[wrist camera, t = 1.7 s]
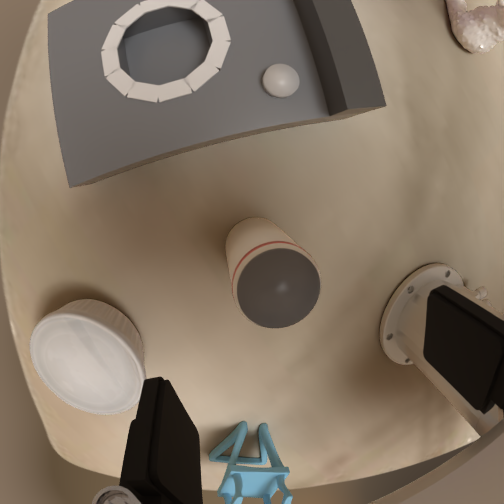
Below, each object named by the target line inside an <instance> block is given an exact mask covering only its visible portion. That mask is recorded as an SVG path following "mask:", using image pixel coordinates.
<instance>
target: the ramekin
mask: <svg viewBox="0 0 504 504" xmlns="http://www.w3.org/2000/svg"><path fill="white" fill-rule="evenodd" d="M30 354H31V359H32V362H33V365H34V367H35V369H36V371H37V373H38V375H39V376H40V378H41V379H42V381H43V382H44V383H45V384H46V386H47V387H48V388H49V389H50V390H51V391H52V392H53V393H54V394H56V395H57V396H58V397H59V398H60V399H61V400H63V401H64V402H66V403H67V404H69V405H71V406H73V407H75V408H77V409H80V410H83V411H86V412H89V413H94V414H100V415H112V414H118V413H122V412H125V411H127V410H129V409H131V408H133V407H134V406H135V405H136V404H137V403H138V402H139V400H140V396H141V391H142V387H143V382H144V380H145V379H146V371H145V366H144V350H143V345H142V340H141V338H140V335H139V333H138V332H137V329H136V328H135V327H134V325H133V324H132V322H131V321H130V320H129V319H128V318H127V317H126V316H125V315H124V314H123V313H121V312H120V311H119V310H117V309H116V308H114V307H112V306H110V305H108V304H106V303H104V302H101V301H97V300H94V299H81V300H75V301H73V302H70V303H68V304H66V305H65V306H63V307H61V308H60V309H58V310H56V311H54V312H51V313H49V314H47V315H46V316H44V317H43V318H42V319H41V320H40V321H39V322H38V323H37V325H36V326H35V328H34V329H33V332H32V334H31V338H30Z"/></svg>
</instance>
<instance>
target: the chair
mask: <svg viewBox="0 0 504 504" xmlns="http://www.w3.org/2000/svg"><path fill="white" fill-rule="evenodd" d="M247 430H248V428H247V422H245V421H242V422H240V423H239V425H238V426H237V427H236V428H235V429H234V431H233V432H232V433H231V434H230V435H229V436H228V437H226V438H225V439H224V440H223V441H222V442H221V443H220V444H219V445H218V446H217V447H216V448H215V449H214V450H212V451H211V453H210V454H209V461H214V462H224V463H228V466H227V469H226V472H225V475H224V478H223V481H222V484H221V485H220V487H219V489H218V491H217V492H218V496H219V497H223V498H224V500H225V504H241V503H242V500H243V497H254V498H255V497H256V498H263V501H264V504H271V500H270V498H271V497H272V495H273V494H274V493H275V491H276V490H277V488H279V489H280V490H281V491H282V492H283V493H284V496H283V501H282V504H291V500H292V498H293V496H292V494H291V493H290V491H289V490H288V489H287V487H286V486H285V483H284V480H285V479H286V477H287V476H288V475H289V473H290V471H289V468H288V467H284V466H283V464H282V462H281V460H280V458H279V456H278V454H277V451H276V449H275V446H274V444H273V441H272V439H271V436H270V434H269V431H268V426H267V424H266V423H263V424H261V425H260V427H259V444H260V451H261V458H244V457H238V455H239V453H240V450H241V447H242V444H243V442H244V439H245V436H246V434H247ZM234 443H235V445H234V448H233V451H232V454H231V456H220V454H222V453H223V452H224V451H225V450H227V449H228V448H229V447H230V446H232V445H233V444H234ZM267 454H268V457H269V459H270V462H271V466H272V467H270V468H255V467H247V466H238V465H236V464H254V465H264V464H266V463H267ZM231 497H234V498H233V500H232V498H231Z"/></svg>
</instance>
